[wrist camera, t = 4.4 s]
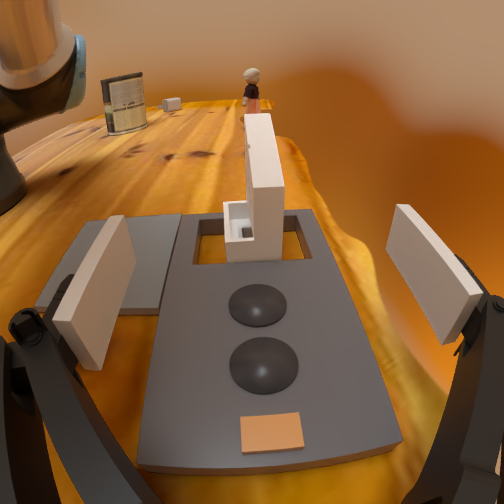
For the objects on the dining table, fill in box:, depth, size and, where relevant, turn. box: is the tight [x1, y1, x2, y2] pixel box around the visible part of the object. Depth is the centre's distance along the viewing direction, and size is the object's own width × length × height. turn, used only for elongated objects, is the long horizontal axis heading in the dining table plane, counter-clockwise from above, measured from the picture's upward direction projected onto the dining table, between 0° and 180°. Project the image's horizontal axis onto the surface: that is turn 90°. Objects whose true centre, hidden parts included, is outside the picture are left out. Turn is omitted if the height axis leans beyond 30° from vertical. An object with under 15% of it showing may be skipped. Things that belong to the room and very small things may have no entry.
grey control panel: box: [136, 209, 403, 476], centre depth 18 cm, size 20×11×2 cm, turn 3°
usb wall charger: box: [157, 98, 181, 112], centre depth 83 cm, size 4×7×4 cm, turn 129°
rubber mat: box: [34, 213, 182, 315], centre depth 23 cm, size 12×10×1 cm
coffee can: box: [101, 72, 147, 135], centre depth 62 cm, size 10×10×14 cm
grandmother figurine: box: [242, 68, 261, 130], centre depth 55 cm, size 8×4×13 cm, turn 170°
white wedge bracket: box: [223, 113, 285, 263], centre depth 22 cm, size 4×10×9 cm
